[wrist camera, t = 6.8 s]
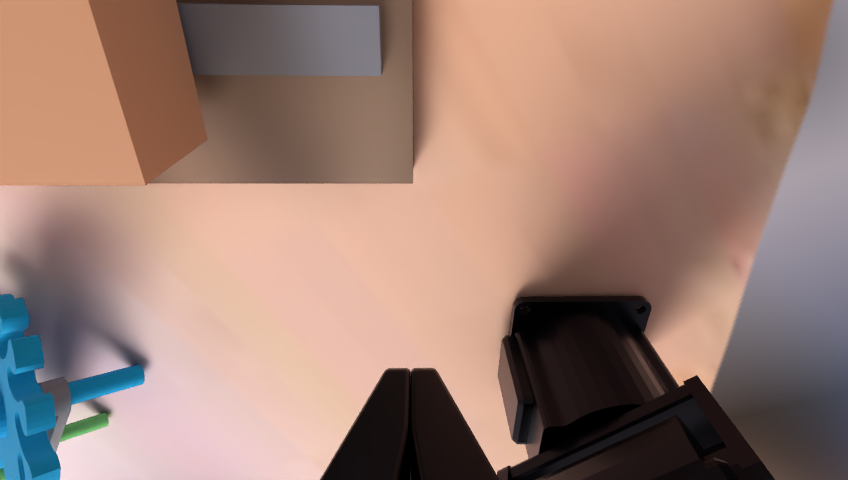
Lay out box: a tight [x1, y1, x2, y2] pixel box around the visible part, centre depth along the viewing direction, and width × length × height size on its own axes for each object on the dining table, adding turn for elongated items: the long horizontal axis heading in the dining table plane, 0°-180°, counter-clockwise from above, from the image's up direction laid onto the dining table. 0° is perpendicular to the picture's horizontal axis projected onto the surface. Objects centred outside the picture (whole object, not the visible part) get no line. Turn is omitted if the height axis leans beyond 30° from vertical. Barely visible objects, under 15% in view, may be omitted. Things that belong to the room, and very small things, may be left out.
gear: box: [0, 294, 144, 480], centre depth 21 cm, size 11×6×10 cm
